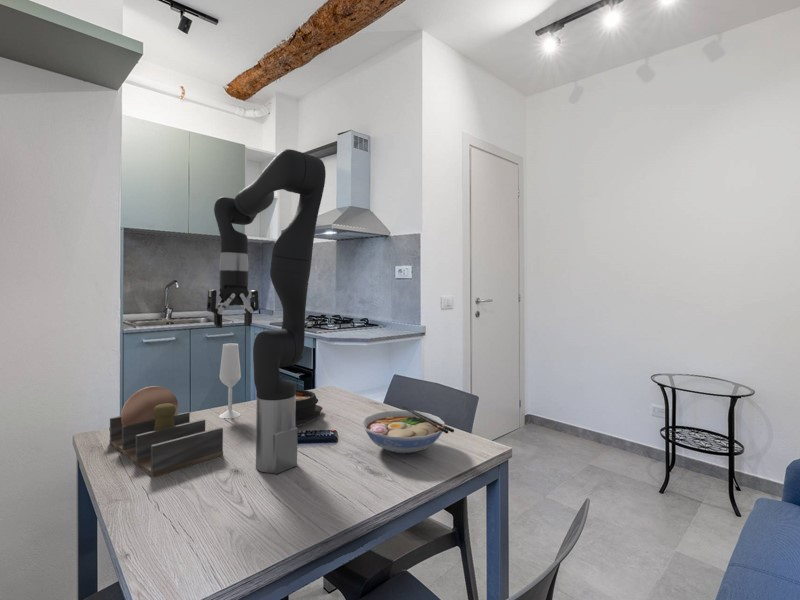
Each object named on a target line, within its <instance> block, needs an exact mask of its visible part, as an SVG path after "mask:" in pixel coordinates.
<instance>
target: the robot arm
mask: <svg viewBox="0 0 800 600" xmlns="http://www.w3.org/2000/svg"><path fill="white" fill-rule="evenodd" d="M326 174H327V173H326V167H325V163H324V161H323V160H322V159H320V158H319V157H316V156H314V155H310V154H308V153H304V152H301V151H298V150H295V149H292V148H291V149H290V148H289V149H288V148H286V149H284V150H281V151H280V152H278V153H277V155H275V157H273V159H272V160H271V161H270V162H269V163H268V165H267V166H266V167H265V168H264V169H263V171H262V172H261V173H260V174H259V176H258V177H257V178H256V179H255V180H254V181H253V182H251V183H250V184H249V185H247V186H245V187H244V188H243V189H242V190H240V191H239V192H238V193H237V194H236V195H235V197H234V198H233V197H229V196H220V197H218V199H216V201H215V203H214V205H213V206H214V207H213V212H214V216H215V221H216V223H217V227H218V231H219V235H220V257H219V290H216V289H209V290H207V302H206V303H207V304H206V311H207V312H209V313H212V314H213V325H214V326H215V327H216V328H217V329H222V328H223V312H224V310H225V309H226V308H228V306H240V307H241V308H242V310H243V311H244V316H243V317H244V318H243V319H244V321H243V322H244V326H245V327H251V326H252V322H253V313H254V312H257V311H259V310H260V309H259V308H260V306H259V303H260V302H259V291H258V290H256V289H255V290H254V289H253V290H248V286H249V257H248V254H249V253H248V248H249V247H248V245H249V242H248V241H249V239H248V236H247V235H246V234H245V233H244V232H243V233H242V232H240V231H238V230H236V229H235V227H234V226H233V225H240V226H247V225H250V224H252V223H253V222H254V221H255V218H257V215H258V214H260V213H261V212H263V211H265V210H266V209H268V208H269V207H270V206H271V205H272V203H274V199H275V192H277V191H281V190H285V191H286V192H289V193H293V194H297V195H299V197H298V198H299V199H298V205H297V208H296V211H295V214H294V215H293V217H292V219H291V222H289V224H288V225H287V226H286V228H285V229H284V230H283V232H282V233H281V234H280V236H278V238H277V240H276V241H275V243H274V245H273V248H272V252H271V261H270V269H269V275H270V279H271V280H270V281H271V284H272V285H273V289H274V291H275V292H276V294H277V297H278V299H279V302H280V303H281V304H280V305H281V307H282V324H281V325H282V326H281V328H280V329H273V330H263V331H260V332H259V333H257V335H256V336H255V338H254V341H253V347H252V361H253V379H254V380H253V381H254V387H255V390H256V409H255V413H256V415H255V416H256V417H255V419H256V420H255V468H256V470H257V471H259V472H262V473H269V474H276V475H277V474H279V473H282V472H284V471H287V470H290V469H292V468H295V467H297V466H298V434H299V433H298V431H299V430H298V427H296V425H295V415H296V390H297V386H296V383H295V382H294V381H292V380H289V379H284V378H282V377H281V374H280V368H286V367H291V366H295V365H297V364H298V363H299V362H300V361H301V359H302V358H303V354H304V350H305V340H306V339H305V334H306V331H305V328H306V307H307V298H308V297H307V296H308V289H309V282H310V281H309V280H310V275H311V268H312V260H313V249H314V241H315V233H316V228H317V222H318V216H319V212H320V207H321V203H322V199H323V193H324V189H325V185H326ZM218 297H220V300H219V301H218V302H217V299H218ZM248 297H249V301H250V302H249V301H248V299H247V298H248Z"/></svg>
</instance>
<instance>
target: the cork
mask: <svg viewBox="0 0 800 600" xmlns="http://www.w3.org/2000/svg"><path fill="white" fill-rule="evenodd" d="M175 412H176V408H175V406H174V405H173V404H171V403H165V404H160V405H157V406H156V407H155V408H154V410H153V415H154V417H155V418H156V419H155V426H154V431H155V430H159V429H164V428H168V427H172V426H175V424H174V417H173V416H174V414H175Z"/></svg>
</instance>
